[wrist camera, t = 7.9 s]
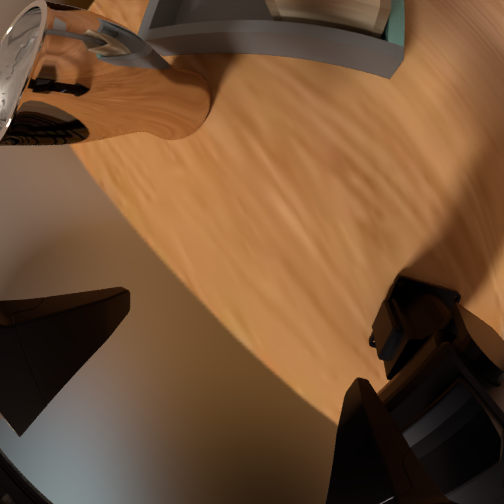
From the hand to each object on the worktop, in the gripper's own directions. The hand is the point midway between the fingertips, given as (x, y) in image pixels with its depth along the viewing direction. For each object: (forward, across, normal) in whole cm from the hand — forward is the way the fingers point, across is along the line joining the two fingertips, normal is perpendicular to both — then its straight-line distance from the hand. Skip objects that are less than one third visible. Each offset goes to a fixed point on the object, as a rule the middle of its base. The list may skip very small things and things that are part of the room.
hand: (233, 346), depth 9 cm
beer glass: (+12, +11, -9) cm, 19 cm away
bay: (+12, +6, -19) cm, 23 cm away
